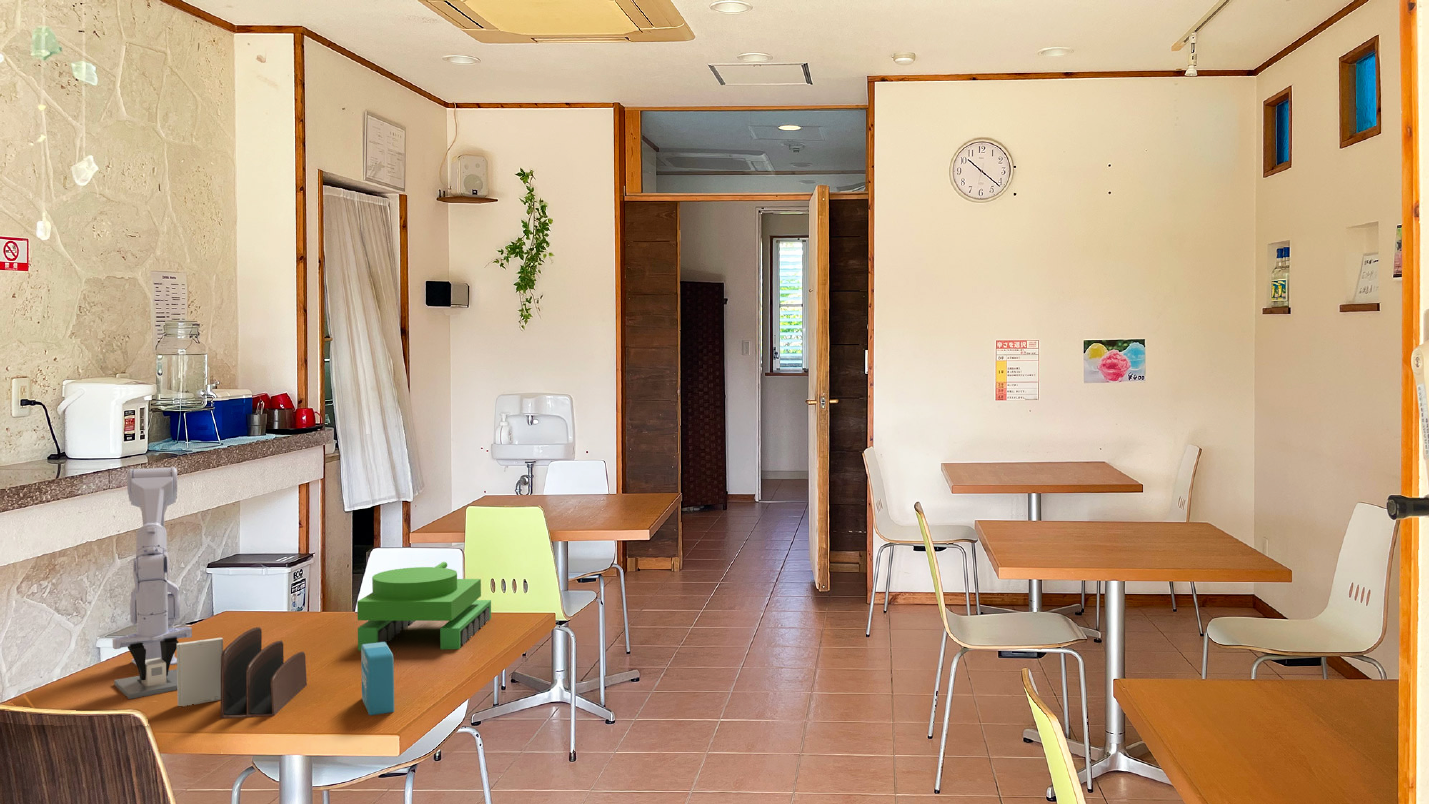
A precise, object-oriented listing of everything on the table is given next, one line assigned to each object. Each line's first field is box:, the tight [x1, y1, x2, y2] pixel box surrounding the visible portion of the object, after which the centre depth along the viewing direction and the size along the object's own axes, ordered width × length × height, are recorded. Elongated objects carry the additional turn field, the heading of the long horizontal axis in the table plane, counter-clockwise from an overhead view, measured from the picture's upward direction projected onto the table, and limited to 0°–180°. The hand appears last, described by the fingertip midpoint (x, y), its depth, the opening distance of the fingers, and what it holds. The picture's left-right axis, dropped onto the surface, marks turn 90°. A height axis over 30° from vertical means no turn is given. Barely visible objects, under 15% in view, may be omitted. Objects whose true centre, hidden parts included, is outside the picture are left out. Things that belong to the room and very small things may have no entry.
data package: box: [360, 641, 395, 716], centre depth 204 cm, size 12×4×12 cm, turn 25°
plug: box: [141, 658, 166, 687], centre depth 222 cm, size 8×4×5 cm, turn 41°
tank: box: [356, 561, 492, 652], centre depth 262 cm, size 24×35×16 cm
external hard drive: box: [176, 637, 224, 707], centre depth 209 cm, size 2×8×12 cm, turn 123°
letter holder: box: [219, 626, 308, 719], centre depth 209 cm, size 10×20×14 cm, turn 4°
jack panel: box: [113, 668, 177, 700], centre depth 225 cm, size 13×24×1 cm, turn 131°
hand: (153, 677), depth 221 cm, fingers closed on plug, 3 cm apart
